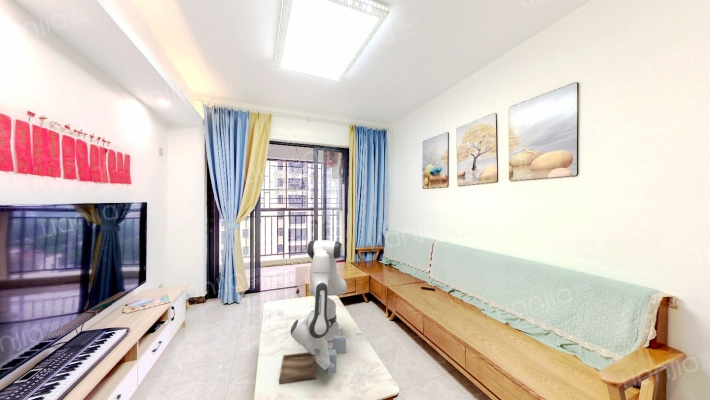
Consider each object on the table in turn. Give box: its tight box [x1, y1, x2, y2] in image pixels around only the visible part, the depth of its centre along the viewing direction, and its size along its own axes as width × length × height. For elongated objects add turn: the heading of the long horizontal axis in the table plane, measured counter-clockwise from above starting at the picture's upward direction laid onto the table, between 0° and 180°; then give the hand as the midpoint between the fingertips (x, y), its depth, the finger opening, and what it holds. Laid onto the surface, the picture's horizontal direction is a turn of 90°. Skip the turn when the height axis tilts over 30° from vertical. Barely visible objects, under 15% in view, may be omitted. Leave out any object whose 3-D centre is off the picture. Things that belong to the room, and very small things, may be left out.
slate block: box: [326, 348, 337, 375], centre depth 128 cm, size 4×4×10 cm
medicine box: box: [332, 334, 347, 354], centre depth 144 cm, size 8×4×9 cm, turn 92°
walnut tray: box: [278, 351, 316, 385], centre depth 128 cm, size 18×18×3 cm
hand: (332, 360), depth 128 cm, fingers open, 8 cm apart
